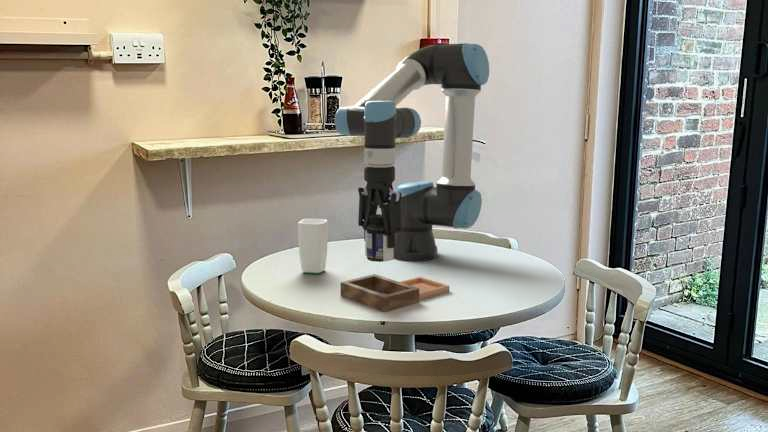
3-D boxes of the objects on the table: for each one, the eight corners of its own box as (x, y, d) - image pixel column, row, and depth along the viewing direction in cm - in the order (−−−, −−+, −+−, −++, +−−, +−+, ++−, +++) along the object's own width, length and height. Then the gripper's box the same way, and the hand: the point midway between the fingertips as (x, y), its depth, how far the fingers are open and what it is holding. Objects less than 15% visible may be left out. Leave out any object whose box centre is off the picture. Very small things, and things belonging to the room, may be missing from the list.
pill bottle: (394, 257, 170) (394, 214, 168) (386, 263, 164) (386, 218, 162) (371, 255, 172) (371, 212, 170) (362, 261, 166) (363, 217, 164)
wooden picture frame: (340, 295, 173) (340, 282, 172) (374, 286, 180) (374, 274, 180) (384, 312, 160) (384, 297, 160) (419, 302, 168) (419, 288, 167)
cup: (297, 274, 192) (296, 223, 189) (306, 267, 199) (305, 218, 196) (321, 276, 190) (320, 224, 187) (329, 269, 197) (329, 219, 194)
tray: (389, 290, 177) (389, 284, 177) (419, 282, 185) (419, 276, 184) (419, 300, 169) (419, 294, 169) (449, 291, 176) (449, 285, 176)
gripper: (343, 162, 169) (343, 252, 173) (394, 170, 154) (393, 268, 159) (366, 160, 173) (366, 248, 178) (418, 167, 159) (416, 262, 164)
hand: (379, 257), depth 168 cm, fingers closed on pill bottle, 6 cm apart
